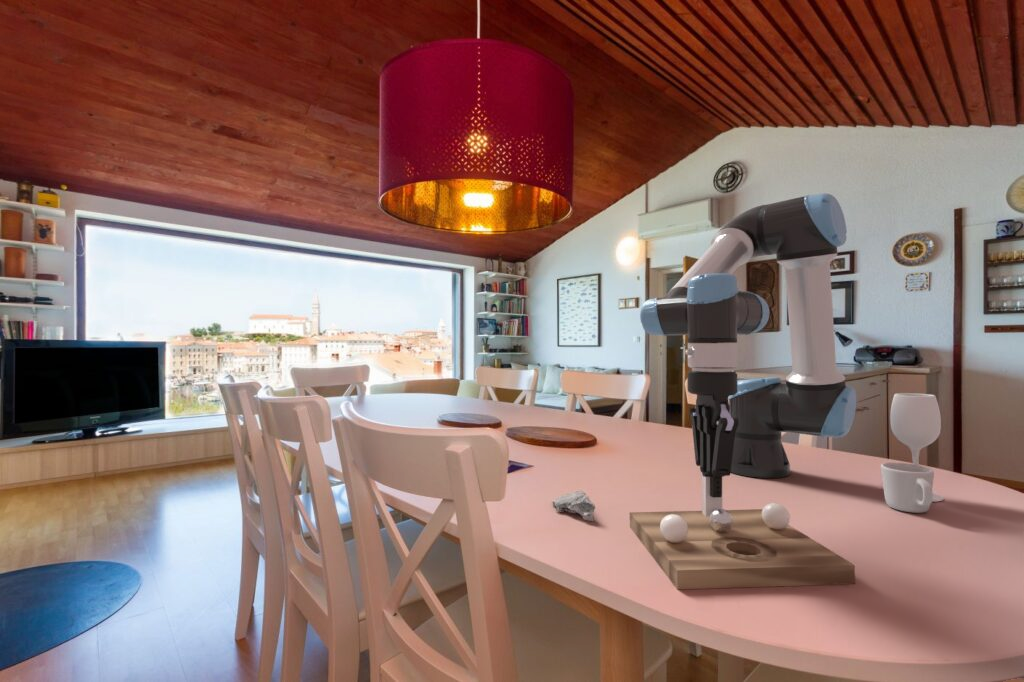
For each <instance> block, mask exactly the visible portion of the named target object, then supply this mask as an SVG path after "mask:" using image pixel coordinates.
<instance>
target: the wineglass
mask: <svg viewBox="0 0 1024 682" xmlns="http://www.w3.org/2000/svg"><path fill="white" fill-rule="evenodd" d="M890 407H891V408H890V414H889V419H890V420H889V421H890V429H891V431H892V433H893V435H894V437H895V438H896V439H897V440H899V441H900V442H901V443H902V444H904V445H905V446H907V447H908V448H909V449H910V451H911V457H912V464H914V465H919V459H920V458H919V457H920V452H921V450H922V449H923V448H925V447H927V446H929V445H931V444H933V443H934V442H935V441H936V440H937V439H938V438H939V436H940V435H941V430H942V429H941V426H942V420H941V419H942V416H941V411H940V407H939V402H938V399H937V397H936V395H935V394H929V393H927V394H926V393H917V392H916V393H913V392H911V393H910V392H899V393H898V392H897V393H894V395H893V398H892V402H891V406H890ZM919 466H920V465H919ZM944 499H945V498H944V497H943V496H942V495H940V493H939V494H938V493H937V492H935V491H933V499H932V502H933V503H935V502H936V503H937V502H943V501H944Z"/></svg>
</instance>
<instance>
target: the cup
mask: <svg viewBox="0 0 1024 682" xmlns="http://www.w3.org/2000/svg"><path fill="white" fill-rule="evenodd" d="M880 472H881V479H882V487H883V494H884V501H885V503H886V505H887V506H889V507H890V508H892V509H894V510H897V511H901V512H905V513H912V514H922V513H926V512H928V511H929V509H930V507H931V505H932V499H933V492H934V491H933V485H934V477H935V472H934V470H933V469H932V468H930V467H927V466H923V465H914V464H913V463H906V462H905V463H904V462H883V463H881V464H880Z"/></svg>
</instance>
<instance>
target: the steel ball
mask: <svg viewBox="0 0 1024 682" xmlns="http://www.w3.org/2000/svg"><path fill="white" fill-rule="evenodd" d="M726 510H727V509H723V508H722V509H715V510H713V511H712V512H711V514H710V516H709V521H710V524H711V526H712V527H713V528H714V529H715V530H716V531H719V532H727V531H729V530H730V529H731V528H732V526H733V518H732V516H731V514H730V513H729V512H728V511H726Z"/></svg>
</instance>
